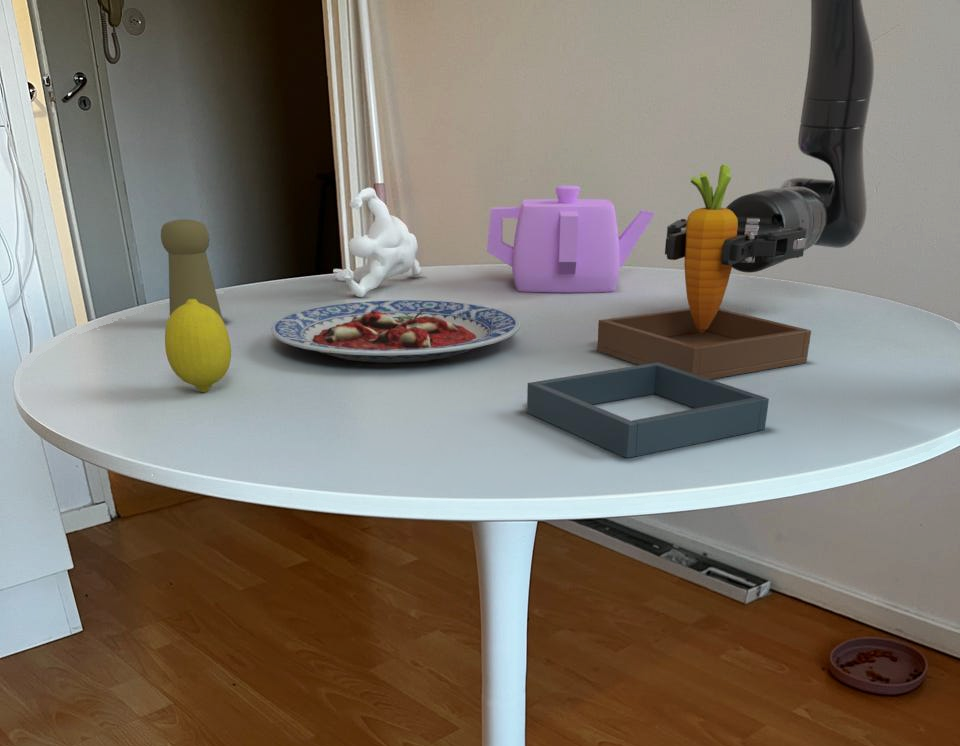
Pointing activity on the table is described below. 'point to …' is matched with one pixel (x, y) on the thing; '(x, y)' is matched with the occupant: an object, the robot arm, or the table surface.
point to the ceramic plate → (395, 329)
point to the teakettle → (565, 243)
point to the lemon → (197, 345)
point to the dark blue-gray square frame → (711, 420)
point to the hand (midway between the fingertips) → (698, 250)
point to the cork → (188, 264)
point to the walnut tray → (704, 342)
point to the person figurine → (379, 248)
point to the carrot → (708, 250)
